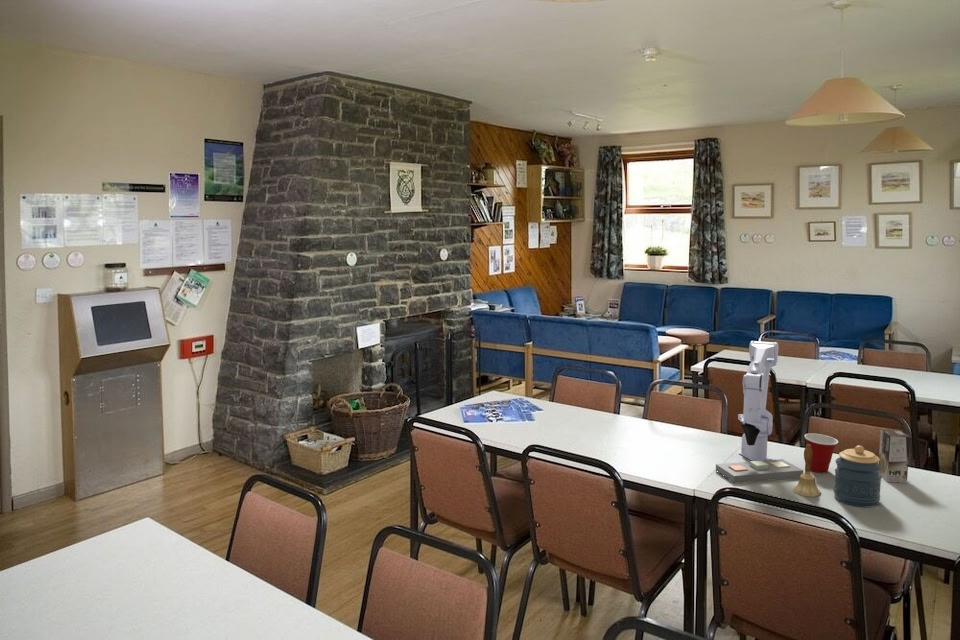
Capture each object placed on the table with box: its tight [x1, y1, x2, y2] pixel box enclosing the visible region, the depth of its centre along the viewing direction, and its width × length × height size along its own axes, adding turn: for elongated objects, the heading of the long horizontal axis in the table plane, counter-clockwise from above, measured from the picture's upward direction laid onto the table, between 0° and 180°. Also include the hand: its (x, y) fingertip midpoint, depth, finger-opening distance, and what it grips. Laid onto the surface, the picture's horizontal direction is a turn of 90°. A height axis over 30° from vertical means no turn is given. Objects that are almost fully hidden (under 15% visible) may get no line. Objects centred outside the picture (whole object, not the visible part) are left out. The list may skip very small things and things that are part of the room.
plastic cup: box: [804, 432, 839, 474], centre depth 245 cm, size 11×11×12 cm
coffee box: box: [878, 428, 911, 484], centre depth 236 cm, size 9×6×16 cm
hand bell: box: [792, 444, 822, 497], centre depth 225 cm, size 8×8×16 cm
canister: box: [833, 445, 883, 508], centre depth 218 cm, size 13×13×18 cm
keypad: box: [715, 458, 804, 484], centre depth 242 cm, size 12×26×2 cm, turn 100°
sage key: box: [749, 460, 769, 470], centre depth 242 cm, size 4×4×2 cm
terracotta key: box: [729, 465, 747, 472], centre depth 241 cm, size 4×4×2 cm
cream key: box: [770, 462, 789, 468], centre depth 244 cm, size 4×4×2 cm
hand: (750, 444), depth 245 cm, fingers closed
